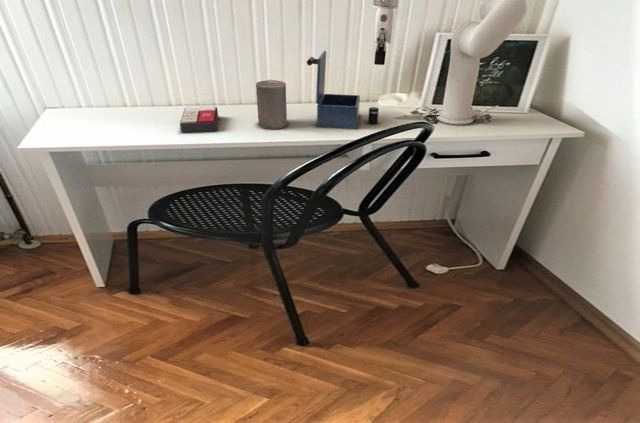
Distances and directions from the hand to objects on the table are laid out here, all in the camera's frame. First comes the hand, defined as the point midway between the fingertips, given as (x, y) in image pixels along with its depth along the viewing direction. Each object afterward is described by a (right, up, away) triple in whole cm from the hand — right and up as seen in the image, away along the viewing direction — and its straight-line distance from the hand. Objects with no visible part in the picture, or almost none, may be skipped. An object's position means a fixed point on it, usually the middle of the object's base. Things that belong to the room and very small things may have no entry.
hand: (379, 61), depth 132 cm
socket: (-1, -18, +9) cm, 20 cm away
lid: (-19, -4, +3) cm, 19 cm away
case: (-13, -17, +10) cm, 24 cm away
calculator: (-60, -19, +5) cm, 63 cm away
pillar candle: (-35, -19, +6) cm, 41 cm away
